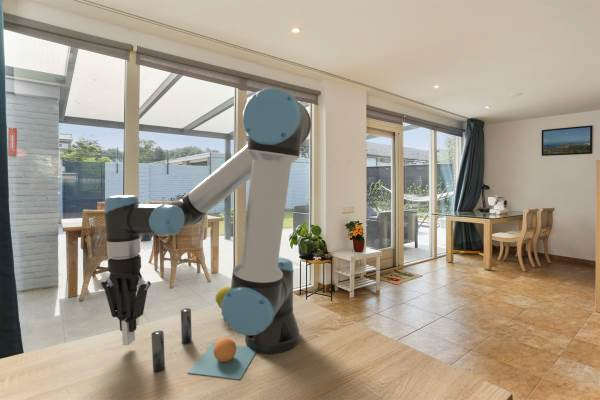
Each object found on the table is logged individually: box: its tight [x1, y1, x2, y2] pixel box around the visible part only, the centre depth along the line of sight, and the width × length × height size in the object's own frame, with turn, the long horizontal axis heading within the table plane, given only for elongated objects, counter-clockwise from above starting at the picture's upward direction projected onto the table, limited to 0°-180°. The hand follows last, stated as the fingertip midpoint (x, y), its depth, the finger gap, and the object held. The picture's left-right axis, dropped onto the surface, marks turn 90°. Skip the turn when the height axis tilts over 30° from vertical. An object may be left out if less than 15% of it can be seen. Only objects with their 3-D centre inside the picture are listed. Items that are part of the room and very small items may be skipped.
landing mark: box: [187, 342, 257, 381], centre depth 80 cm, size 13×13×1 cm
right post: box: [180, 307, 193, 345], centre depth 88 cm, size 3×3×9 cm
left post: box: [150, 330, 166, 374], centre depth 76 cm, size 3×3×9 cm
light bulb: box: [215, 286, 231, 320], centre depth 103 cm, size 7×7×10 cm
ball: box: [214, 337, 237, 362], centre depth 80 cm, size 6×6×6 cm
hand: (129, 342), depth 85 cm, fingers closed
